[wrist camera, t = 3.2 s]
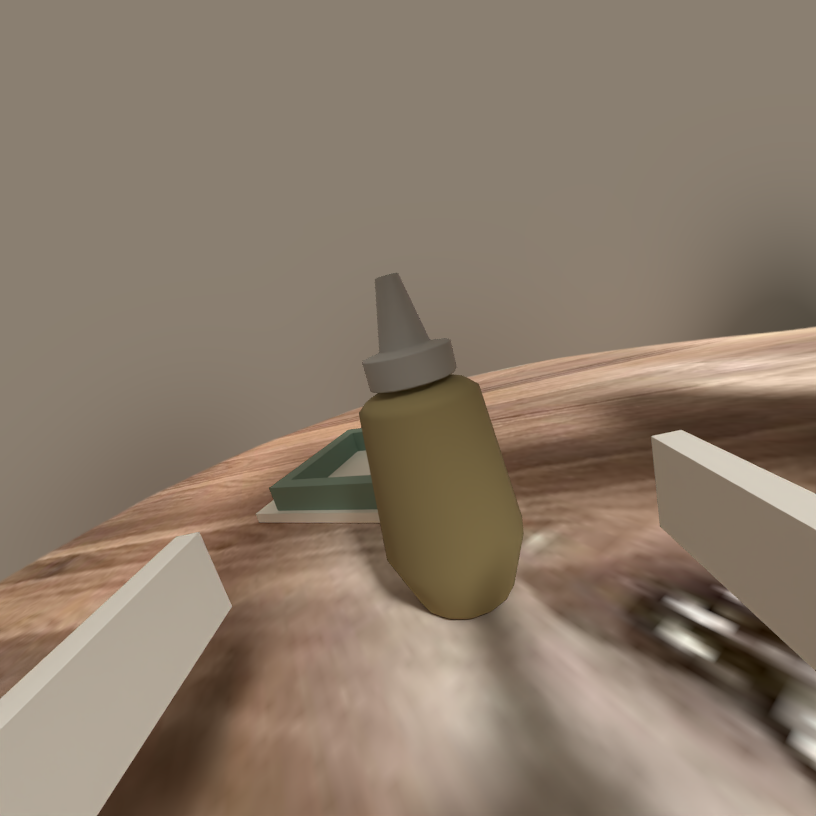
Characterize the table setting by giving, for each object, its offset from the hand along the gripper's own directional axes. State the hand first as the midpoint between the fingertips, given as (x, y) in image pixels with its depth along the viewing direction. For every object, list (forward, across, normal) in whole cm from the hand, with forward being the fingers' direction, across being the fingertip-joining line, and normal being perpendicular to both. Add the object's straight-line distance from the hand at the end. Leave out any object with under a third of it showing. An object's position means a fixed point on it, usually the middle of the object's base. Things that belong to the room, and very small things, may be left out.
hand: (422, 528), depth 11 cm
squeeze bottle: (+10, 0, -10) cm, 14 cm away
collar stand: (+27, -7, -10) cm, 30 cm away
